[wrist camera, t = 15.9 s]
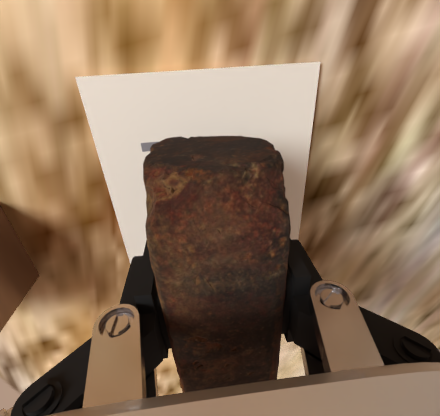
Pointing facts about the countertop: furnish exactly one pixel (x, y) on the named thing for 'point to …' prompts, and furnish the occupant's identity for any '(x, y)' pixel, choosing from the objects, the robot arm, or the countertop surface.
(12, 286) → the walnut block
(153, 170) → the brick
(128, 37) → the countertop surface
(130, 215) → the letter
